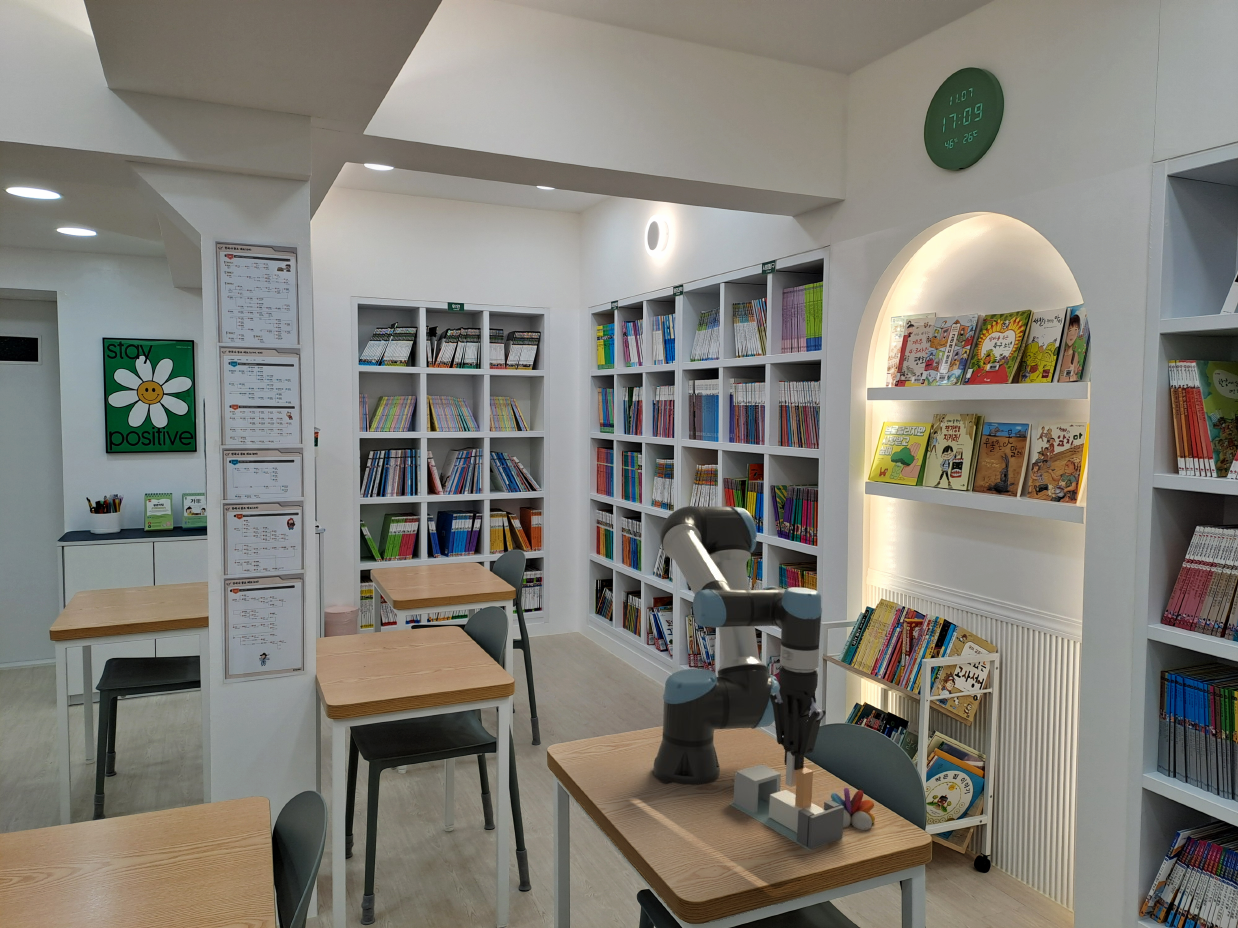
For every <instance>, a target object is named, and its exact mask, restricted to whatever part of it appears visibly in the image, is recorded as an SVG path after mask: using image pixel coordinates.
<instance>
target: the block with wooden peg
mask: <svg viewBox="0 0 1238 928" xmlns="http://www.w3.org/2000/svg"><path fill="white" fill-rule="evenodd" d="M813 774H814V771H813V770H812V769H809V768H807V767H804V768H802V769H798V770H797V778H796V785H795V793H793V792H791V791H790V790H787V789H784V790H780V792H777V793H774V794H770V803H769V817H770V818H772V819H773V820H775V821H777V822H779V823H780V824H782V825H784V826H786V827H788V828H789V829H791V830H793V831H795V832H796V833H797V827H798V810H801V809H804V808H805V809H806V810H808V811H810V812H812V813H814V815H815V814H818V813H821V812H824V811H826V810H824V808H822V807H820V806H818V805H816V804H815V803H813V802H812V799H813V798H812V796H813V779H814V778H813V777H814V775H813Z"/></svg>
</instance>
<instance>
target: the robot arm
mask: <svg viewBox="0 0 1238 928" xmlns="http://www.w3.org/2000/svg"><path fill="white" fill-rule="evenodd" d="M757 533H758V532H757V527H756V524H755V520H754V518H753V517H752V515H751V513H750V512H749V511H747V509H745V508H742V507H737V506H735V507H734V506H730V505H727V506H701V505H700V506H697V505H695V506H694V505H688V506H683V507H681V508H678V509H676V510H674V511H673V512H671V513H670V514H669V515H668V516H667V518H666V519H665V520H664V521H663V523H662V525H661V528H660V532H659V541H660V545H661V548H662V549H663V551H664V554H666V555H667V557H668V558H669V559H672V560H674V562H675V563H676V565H677V567H678V569H679V570H680V573H681V574H682V576H683V577H684V579H685V580H686V581H685V582H687V584H688V586H689V588H690V590H691V591H692V593H693V594H694V596H693V599H692V613H693V615H694V616H693V618H694V621H695V623H696V624H697V625H698V626H700V627H703V628H705V627H706V628H707V627H709V628H714V629H718V634H719V643H720V650H721V658H722V664H721V665H720V667H718V669H717V675H716V673H715V672H714V671H713V670H710V669H706V668H702V669H701V668H685V669H682V670H678V671H676V672H673V673H672V674H671V675H669V676H668V677H667V679H666V680H665V685H664V691H663V692H664V693H663V694H662V695H663V696H662V697H663V698H662V699H663V714H662V715H663V718H662V719H663V720H662V740H661V742H660V745H659V749H658V752H657V755H656V757H655V759H654V761H653V771H652V773H653V776H654V777H655V778H656V779H657V780H659V782H662V783H664V784H666V785H669V784H673V783H674V784H679V785H686V786H699V785H705V784H709V783H712V782H714V781H716V780H717V779H718V778H719V777H720V774H721V766H720V762H719V760H718V755H717V752H716V747H715V744H714V736H715V730H736V729H737V730H738V729H752V730H754V729H757V728H766V727H767V728H768V727H769V726H772V724H774V727H775V735H776V742H777V744H778V745H781V746H782V747H783V750H784V763H783V764H784V766H786V768H785V785H786V786H789V787H794V786H795V787H796V778H797V770H798V769H802V768H805V767H804V765H805V756H806V755H807V754H812V753H813V752H814V750H815V745H816V741H817V738H818V734H819V730H820V726H821V722H822V720H823V718H824V717H825V716H826V712H827V711H826V710H825V709H823V708H822V709H820V707H819V705H817V698H816V693H815V692H816V690H817V688H818V683H819V682H818V679H819V670H818V669H817V668H819V666H820V665H819V663H820V662H819V661H820V659H819V658H820V641H821V640H820V638H821V624H822V613H823V607H822V595H821V593H820V592H819V591H818V590H816V589H811V588H807V587H788V588H786V589H785V588H783V587H780V586H774V585H769V586H765V587H763V588H762V589H750V586H749V585H750V584H749V578H748V569H747V562H748V561H749V560H750V558H751V557H752V556H751V555H752V553H753V551H755V549H756V546H757V537H758V535H757ZM755 627H777V628H778V629H780V630H781V631H780V656H779V663H780V667H779V669H778V670H779V672H778V679H777V677H776V676H775V675H772V674H769V672H768V666H767V664H765V663H764V662H763V661H761V659H760V654H759V649H758V642H757V635H756V628H755Z"/></svg>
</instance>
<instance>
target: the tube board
mask: <svg viewBox="0 0 1238 928" xmlns="http://www.w3.org/2000/svg"><path fill="white" fill-rule="evenodd" d="M781 776H782V773H781V772H778V771H777V770H774V769H773V768H771V767H769V766H767V765H765V764H763V763H762V764H758V765H755V766H750V767H748V768H747V767H746V768H744V769H740V770H736V773H734V781H733V782H734V784H733V785H734V786H733V787H734V789H733V801H732V802H731V803H728V804H729V805H730V806H732V807H733V808H735V809H737V810H739V811H741V812H742V813H744V814H746V815H747V816H749V817H751V818H753V819H754V820H756V821H757V822H760V823H761V824H763V825H764V826H766V827H768V828H769V829H772V830H773V831H775V832H777V833H779V834H780V835H782V836H784V838H788V839H789V840H790V841H792V842H794V843H795V844H798V845H799V846H801V847H803V848H805V849H806V850H808V851H811V850H813V849H815V848H818V847H820V846H824V845H826V844H829V843H832V842H834V841H837V840H839V839H841V838H842V839H843V838H845V836H844V834H843V832H844V827H843V818H844V807H843V806H840V805H839V804H837V803H835V802H833V801H831V800H832V799H828V800H824V802H823V809H824V810H826V811H824V812H821V813H818V814H815V815H814V813H812V812H810V811H808V810H806V809H805V808H804V809H801V810H798V827H797V833H796V832H795V831H793V830H791V829H789V828H788V827H786V826H784V825H782V824H780V823H779V822H777V821H775V820H773V819H772V818H770V817H769V803H770V794H774V793H777V792H780V791H781V781H782V779H781V778H782V777H781Z"/></svg>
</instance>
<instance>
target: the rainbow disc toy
mask: <svg viewBox="0 0 1238 928" xmlns="http://www.w3.org/2000/svg"><path fill="white" fill-rule="evenodd" d="M843 795H844V798H842V797H841V796H840V795H839V794H838V793H836V792H833V793H831V795H830V798H831V799H830V800H831V801H833V802H835V803H837V804H839V805H840V806H843V807H844V818H843V828H847V827H849V826H850V825H851V826H852V827H854V828H855V829H858V830H862V831H866V830H869V829H871V827H872V826H873V825H872V824H874V822H875V820H876V817H875V815H874V814H873V813H872V812H871V811H872V810H873V809H874V807H875V803H874V802H873V801H872V800H870V799H864V798H863V797H864V791H863V790H861V789H859V790H856V792H855V793H854V795H853V797H852V798H851V793H850V788H849V787H844V788H843Z"/></svg>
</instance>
